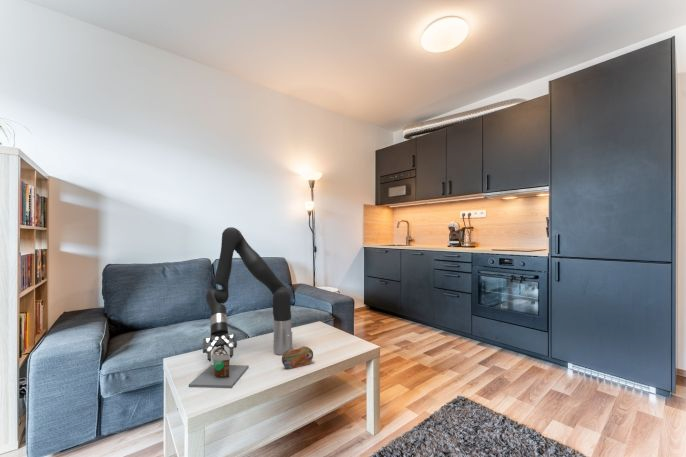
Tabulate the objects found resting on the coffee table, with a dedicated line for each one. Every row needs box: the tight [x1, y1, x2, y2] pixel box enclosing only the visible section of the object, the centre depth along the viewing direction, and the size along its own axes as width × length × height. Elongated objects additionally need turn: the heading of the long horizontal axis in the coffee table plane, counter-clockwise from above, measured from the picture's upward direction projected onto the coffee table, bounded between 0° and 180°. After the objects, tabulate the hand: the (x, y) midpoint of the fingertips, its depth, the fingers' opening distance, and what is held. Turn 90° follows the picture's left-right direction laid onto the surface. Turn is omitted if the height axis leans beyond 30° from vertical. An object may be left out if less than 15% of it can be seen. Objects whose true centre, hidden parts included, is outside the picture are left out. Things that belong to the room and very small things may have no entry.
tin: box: [281, 345, 314, 370], centre depth 137 cm, size 15×3×8 cm, turn 117°
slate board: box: [188, 364, 249, 389], centre depth 126 cm, size 18×18×1 cm
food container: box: [211, 345, 231, 378], centre depth 126 cm, size 12×6×10 cm, turn 33°
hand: (220, 358), depth 127 cm, fingers open, 8 cm apart
